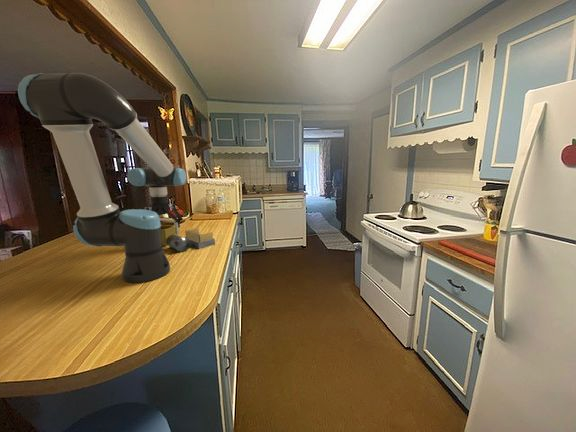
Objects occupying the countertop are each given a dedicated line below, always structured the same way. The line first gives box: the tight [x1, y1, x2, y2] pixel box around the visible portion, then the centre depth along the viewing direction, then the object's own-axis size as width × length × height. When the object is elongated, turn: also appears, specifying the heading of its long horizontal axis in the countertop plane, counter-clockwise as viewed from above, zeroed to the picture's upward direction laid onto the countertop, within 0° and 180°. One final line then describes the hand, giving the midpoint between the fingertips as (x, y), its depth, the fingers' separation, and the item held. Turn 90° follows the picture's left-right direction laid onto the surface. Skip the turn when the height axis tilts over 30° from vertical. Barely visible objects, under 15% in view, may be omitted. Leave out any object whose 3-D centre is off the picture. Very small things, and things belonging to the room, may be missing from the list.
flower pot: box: [161, 224, 176, 247], centre depth 118 cm, size 9×9×9 cm
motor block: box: [166, 227, 216, 253], centre depth 116 cm, size 14×19×6 cm
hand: (163, 237), depth 119 cm, fingers open, 13 cm apart
